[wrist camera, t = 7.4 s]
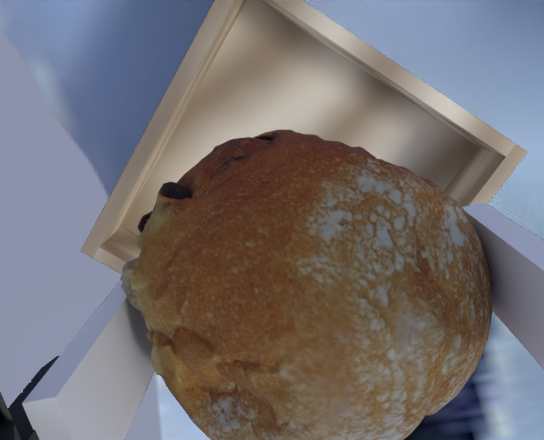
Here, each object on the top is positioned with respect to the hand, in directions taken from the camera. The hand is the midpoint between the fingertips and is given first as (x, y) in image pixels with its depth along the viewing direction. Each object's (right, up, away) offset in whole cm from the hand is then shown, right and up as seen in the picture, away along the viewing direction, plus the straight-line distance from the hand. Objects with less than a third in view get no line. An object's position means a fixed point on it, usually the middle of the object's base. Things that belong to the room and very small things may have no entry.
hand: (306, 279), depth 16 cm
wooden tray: (0, +4, +15) cm, 16 cm away
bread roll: (0, 0, +1) cm, 1 cm away
